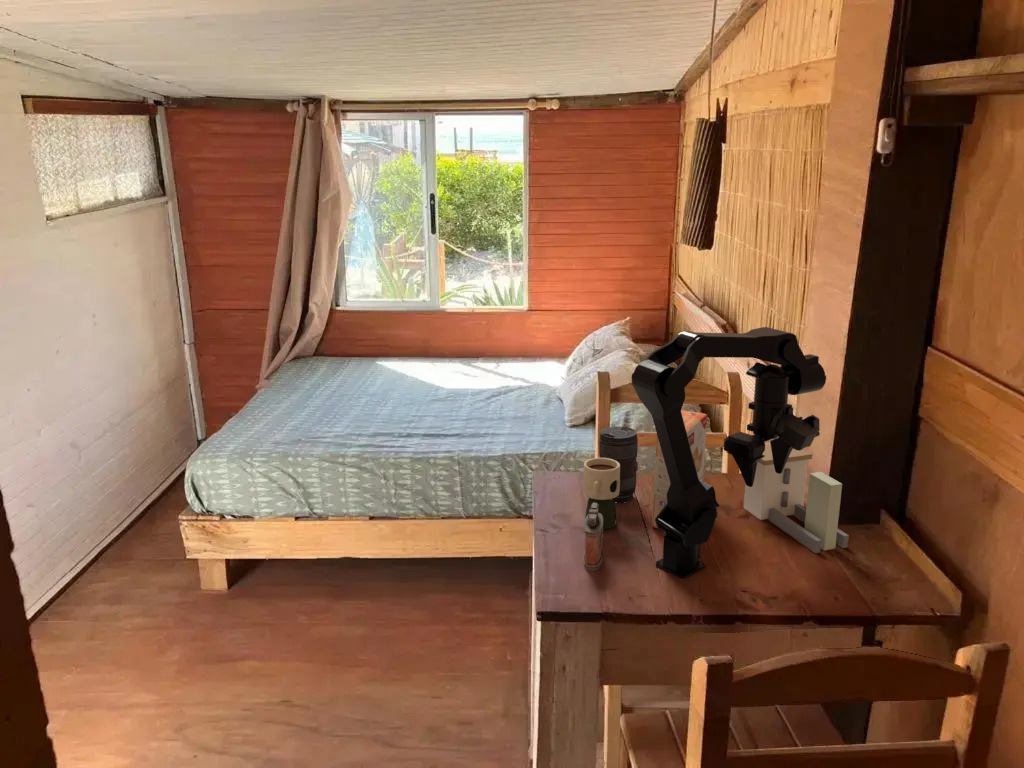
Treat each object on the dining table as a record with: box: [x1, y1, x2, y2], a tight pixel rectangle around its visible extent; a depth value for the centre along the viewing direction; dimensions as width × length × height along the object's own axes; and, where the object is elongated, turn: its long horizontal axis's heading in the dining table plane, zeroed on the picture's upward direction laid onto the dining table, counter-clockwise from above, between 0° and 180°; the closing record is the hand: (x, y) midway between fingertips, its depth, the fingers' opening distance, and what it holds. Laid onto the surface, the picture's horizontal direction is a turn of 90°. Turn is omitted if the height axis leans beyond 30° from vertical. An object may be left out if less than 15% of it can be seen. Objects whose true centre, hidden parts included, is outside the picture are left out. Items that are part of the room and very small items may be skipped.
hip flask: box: [583, 503, 604, 571], centre depth 140 cm, size 8×3×10 cm, turn 170°
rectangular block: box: [803, 471, 843, 551], centre depth 145 cm, size 2×6×13 cm, turn 17°
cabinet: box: [743, 444, 850, 554], centre depth 151 cm, size 11×22×13 cm, turn 17°
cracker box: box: [651, 409, 708, 529], centre depth 154 cm, size 14×6×21 cm, turn 148°
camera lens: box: [598, 425, 639, 504], centre depth 165 cm, size 8×8×15 cm
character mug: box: [583, 457, 620, 530], centre depth 153 cm, size 11×7×13 cm, turn 161°
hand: (764, 479), depth 143 cm, fingers open, 9 cm apart
